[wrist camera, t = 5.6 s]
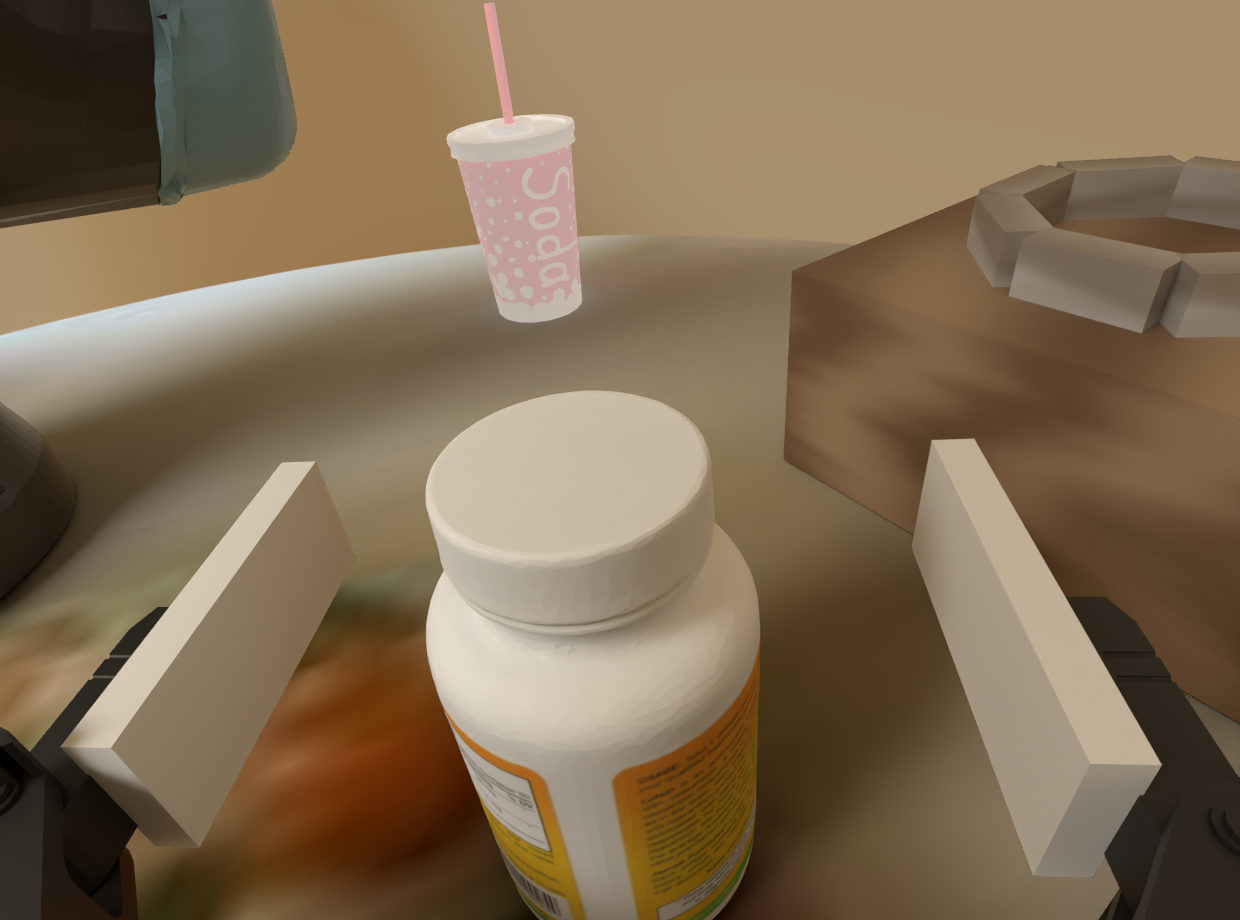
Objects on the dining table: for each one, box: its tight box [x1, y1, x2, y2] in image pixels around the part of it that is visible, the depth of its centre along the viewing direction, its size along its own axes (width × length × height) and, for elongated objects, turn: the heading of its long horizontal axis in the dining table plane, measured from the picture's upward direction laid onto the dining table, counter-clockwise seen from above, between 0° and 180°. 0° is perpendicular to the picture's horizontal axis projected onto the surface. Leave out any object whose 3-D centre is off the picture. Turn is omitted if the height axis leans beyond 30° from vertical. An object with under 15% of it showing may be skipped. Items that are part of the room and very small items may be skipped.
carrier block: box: [784, 156, 1240, 723], centre depth 21 cm, size 14×14×8 cm
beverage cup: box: [447, 3, 582, 322], centre depth 35 cm, size 6×6×14 cm
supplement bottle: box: [426, 391, 761, 920], centre depth 13 cm, size 5×5×10 cm
